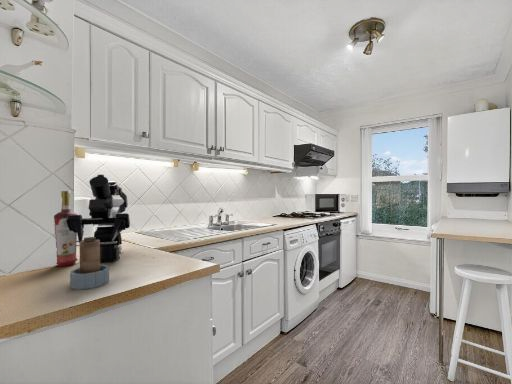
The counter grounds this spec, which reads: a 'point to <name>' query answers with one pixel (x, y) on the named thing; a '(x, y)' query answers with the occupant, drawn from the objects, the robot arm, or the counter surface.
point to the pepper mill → (89, 255)
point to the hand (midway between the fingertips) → (96, 241)
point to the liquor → (65, 234)
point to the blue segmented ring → (89, 278)
